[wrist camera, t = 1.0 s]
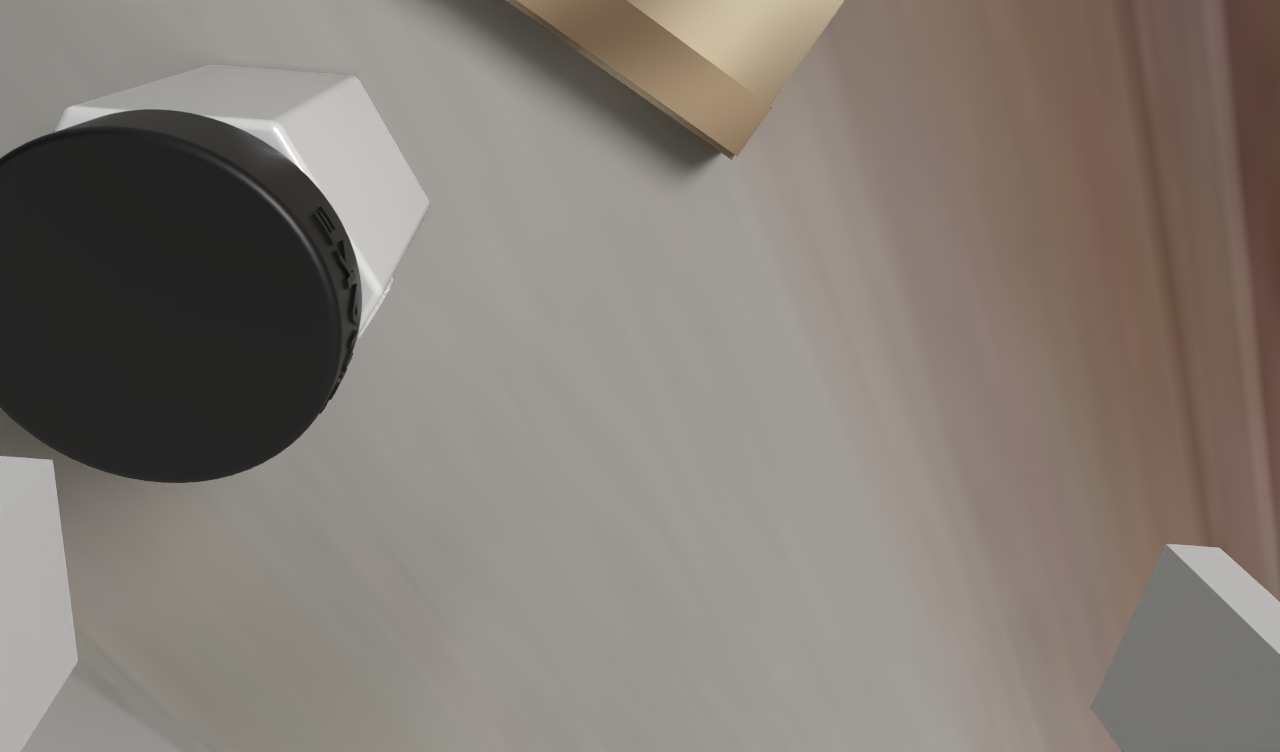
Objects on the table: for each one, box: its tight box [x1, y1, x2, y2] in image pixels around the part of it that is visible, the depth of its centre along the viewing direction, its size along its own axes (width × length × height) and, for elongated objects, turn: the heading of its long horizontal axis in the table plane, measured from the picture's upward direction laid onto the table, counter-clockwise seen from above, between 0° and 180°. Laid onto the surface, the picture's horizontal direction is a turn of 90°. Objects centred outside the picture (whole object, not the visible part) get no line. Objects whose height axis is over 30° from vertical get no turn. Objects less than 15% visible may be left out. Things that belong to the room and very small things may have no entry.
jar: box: [0, 64, 429, 483], centre depth 25 cm, size 9×8×12 cm
